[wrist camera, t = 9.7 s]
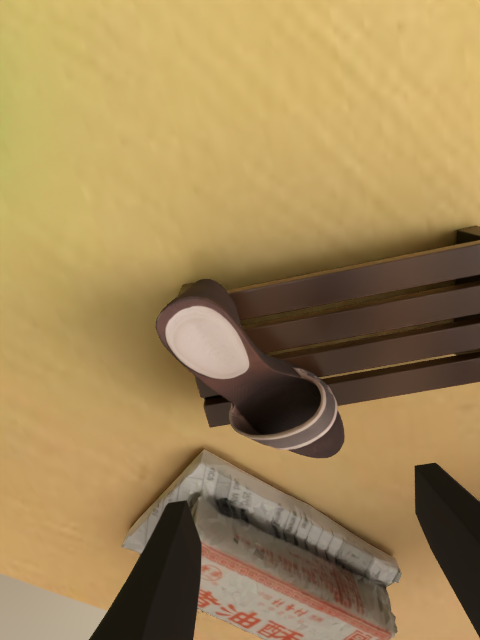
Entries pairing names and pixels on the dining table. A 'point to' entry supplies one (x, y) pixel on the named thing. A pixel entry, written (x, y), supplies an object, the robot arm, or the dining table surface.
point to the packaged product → (276, 559)
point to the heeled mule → (250, 375)
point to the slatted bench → (371, 324)
